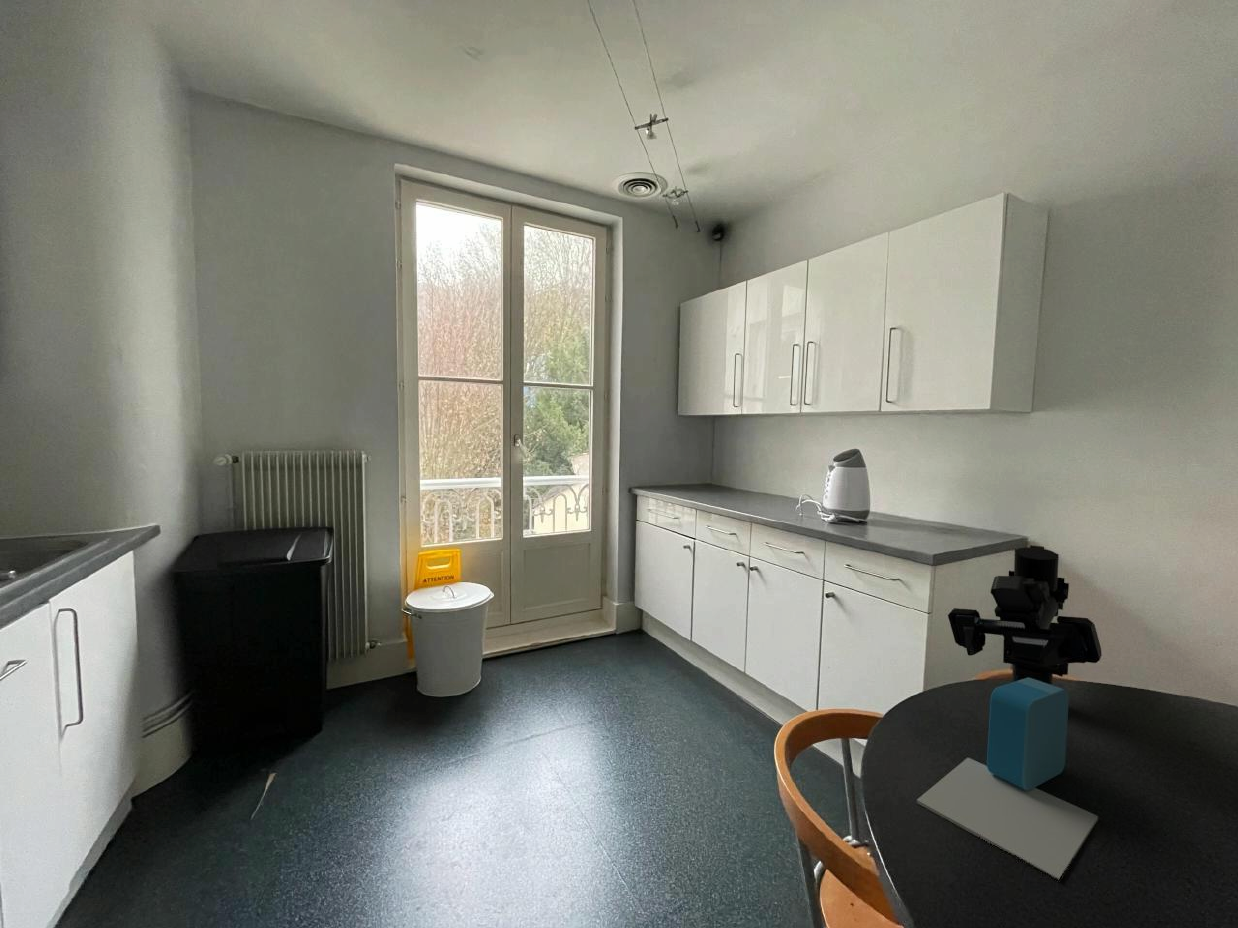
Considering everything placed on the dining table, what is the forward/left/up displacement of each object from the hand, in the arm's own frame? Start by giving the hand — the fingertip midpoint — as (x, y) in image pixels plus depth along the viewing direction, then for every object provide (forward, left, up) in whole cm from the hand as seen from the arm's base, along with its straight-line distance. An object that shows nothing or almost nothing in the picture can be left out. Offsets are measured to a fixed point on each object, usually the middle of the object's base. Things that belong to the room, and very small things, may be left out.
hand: (1003, 657), depth 75 cm
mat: (+15, +5, -14) cm, 21 cm away
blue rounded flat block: (+4, +4, -14) cm, 15 cm away
